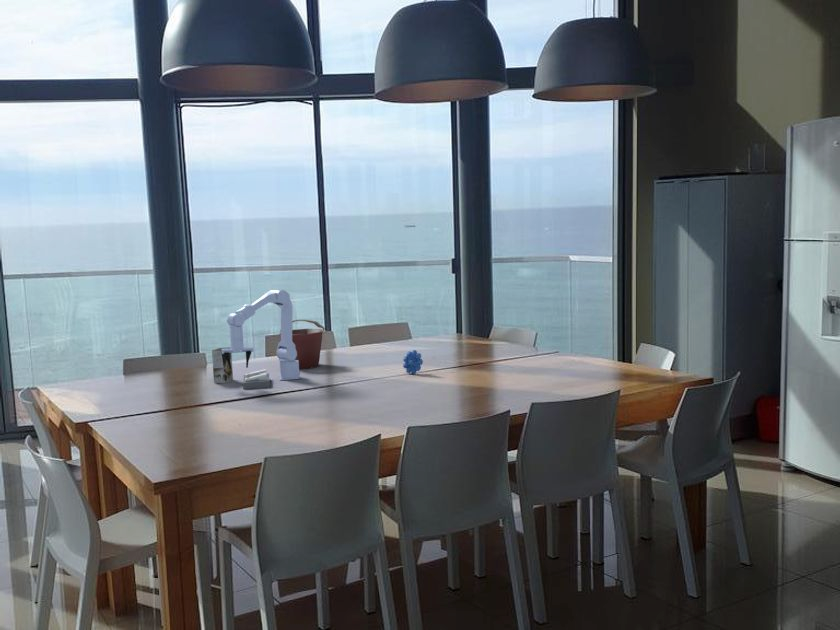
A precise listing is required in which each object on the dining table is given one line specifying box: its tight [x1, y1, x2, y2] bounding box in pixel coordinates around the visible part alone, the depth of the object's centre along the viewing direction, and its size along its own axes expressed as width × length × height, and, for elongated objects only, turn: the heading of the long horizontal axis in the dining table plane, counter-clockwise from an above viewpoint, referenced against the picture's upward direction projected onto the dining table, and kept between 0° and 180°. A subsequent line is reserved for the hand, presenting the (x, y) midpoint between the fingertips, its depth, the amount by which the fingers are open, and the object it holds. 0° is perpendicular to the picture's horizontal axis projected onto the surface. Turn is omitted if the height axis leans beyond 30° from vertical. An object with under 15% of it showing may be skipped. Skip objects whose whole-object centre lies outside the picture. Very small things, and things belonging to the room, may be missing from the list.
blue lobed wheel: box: [402, 349, 424, 375], centre depth 408 cm, size 12×7×12 cm, turn 55°
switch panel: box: [242, 372, 271, 390], centre depth 397 cm, size 12×20×3 cm, turn 11°
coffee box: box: [211, 347, 234, 384], centre depth 407 cm, size 9×6×16 cm
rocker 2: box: [245, 372, 267, 381], centre depth 391 cm, size 10×3×1 cm, turn 100°
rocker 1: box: [245, 368, 267, 377], centre depth 402 cm, size 10×3×1 cm, turn 100°
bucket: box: [279, 318, 325, 370], centre depth 439 cm, size 24×22×25 cm
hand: (238, 367), depth 389 cm, fingers open, 7 cm apart
